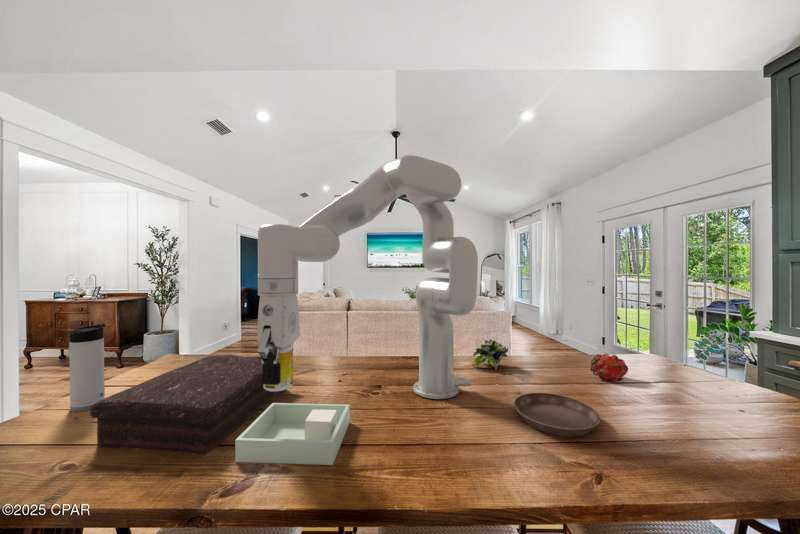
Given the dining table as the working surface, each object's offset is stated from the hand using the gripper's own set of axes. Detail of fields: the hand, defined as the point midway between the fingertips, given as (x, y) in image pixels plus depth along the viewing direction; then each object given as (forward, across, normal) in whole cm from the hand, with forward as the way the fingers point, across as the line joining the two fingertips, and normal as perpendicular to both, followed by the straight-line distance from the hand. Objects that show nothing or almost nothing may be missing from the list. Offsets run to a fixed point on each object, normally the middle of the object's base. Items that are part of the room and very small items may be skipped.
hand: (278, 377), depth 66 cm
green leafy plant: (+13, +49, -53) cm, 73 cm away
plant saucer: (+13, +12, -59) cm, 62 cm away
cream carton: (+12, 0, -9) cm, 15 cm away
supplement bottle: (+2, 0, 0) cm, 2 cm away
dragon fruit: (+13, +40, -87) cm, 97 cm away
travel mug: (+13, +14, +54) cm, 57 cm away
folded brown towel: (+14, +12, +22) cm, 29 cm away
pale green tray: (+13, 0, -4) cm, 14 cm away
